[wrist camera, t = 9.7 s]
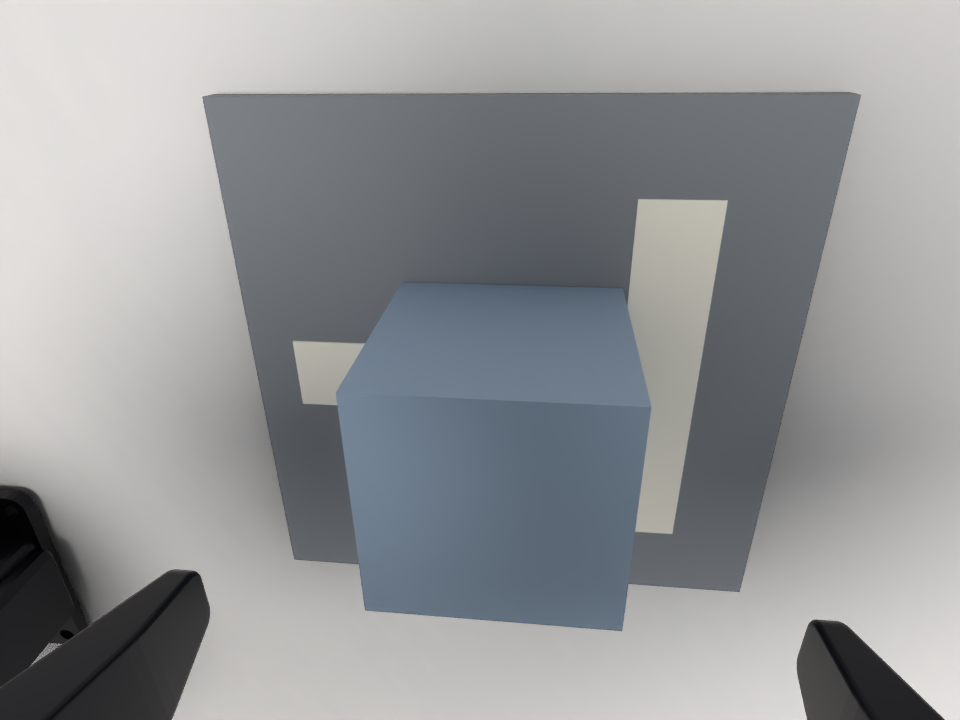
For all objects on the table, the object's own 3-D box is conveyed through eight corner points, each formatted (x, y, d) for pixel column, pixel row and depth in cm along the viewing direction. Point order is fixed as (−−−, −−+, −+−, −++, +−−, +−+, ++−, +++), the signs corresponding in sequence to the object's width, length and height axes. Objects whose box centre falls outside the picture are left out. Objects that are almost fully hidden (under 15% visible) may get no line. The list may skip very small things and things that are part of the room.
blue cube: (415, 459, 17) (365, 610, 13) (401, 282, 15) (335, 392, 10) (605, 469, 17) (622, 631, 12) (622, 288, 14) (651, 407, 10)
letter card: (300, 547, 20) (293, 560, 19) (213, 94, 14) (201, 96, 13) (735, 578, 19) (739, 592, 18) (850, 91, 12) (861, 95, 12)
